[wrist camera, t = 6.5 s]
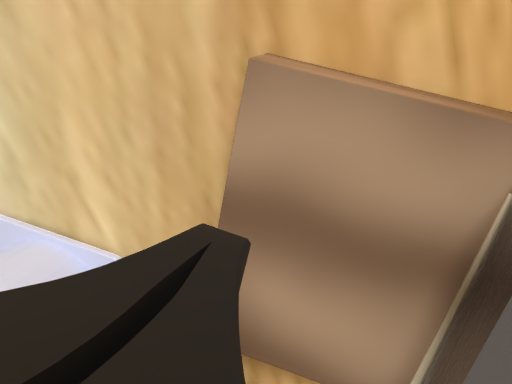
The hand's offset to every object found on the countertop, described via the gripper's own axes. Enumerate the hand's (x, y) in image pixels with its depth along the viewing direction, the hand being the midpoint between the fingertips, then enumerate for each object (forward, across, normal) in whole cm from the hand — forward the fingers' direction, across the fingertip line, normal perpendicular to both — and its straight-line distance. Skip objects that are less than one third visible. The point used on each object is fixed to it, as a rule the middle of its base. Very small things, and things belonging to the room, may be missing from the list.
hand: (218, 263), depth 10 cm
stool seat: (+7, -5, +2) cm, 9 cm away
